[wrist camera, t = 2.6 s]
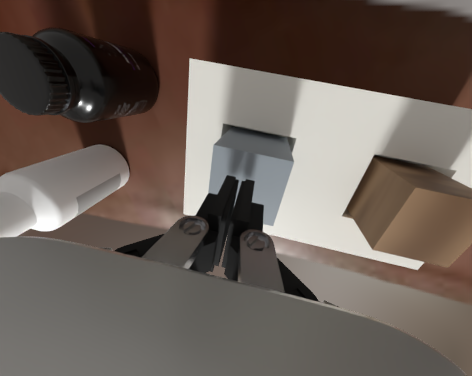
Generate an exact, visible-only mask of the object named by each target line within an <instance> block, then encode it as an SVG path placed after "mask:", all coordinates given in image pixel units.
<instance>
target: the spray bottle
mask: <svg viewBox="0 0 472 376" xmlns="http://www.w3.org/2000/svg"><path fill="white" fill-rule="evenodd" d="M129 175H130V173H129V167H128V164H127V162H126V160H125V159H124V158H123V156H122V155H121V154H120V153H119V152H118V151H116V150H115V149H113V148H111V147H109V146H106V145H101V144H99V145H93V146H90V147H87V148H84V149H81V150H78V151H74V152H71V153H68V154H65V155H62V156H59V157H56V158H52V159H49V160H46V161H43V162H40V163H37V164H34V165H31V166H27V167H24V168H21V169H18V170H15V171H12V172H9V173H6V174H4V175H2V176H1V177H0V237H16V236H18V235H20V234H21V233H23V232H25V231H27V230H28V229H30V228H31V229H35V230H39V231H52V230H55V229H57V228H59V227H61V226H62V225H64V224H65V223H67V222H68V221H70V220H71V219H73V218H75V217H76V216H77V215H79V214H81V213H82V212H84V211H85V210H87V209H88V208H90V207H91V206H93V205H94V204H96V203H97V202H99V201H101V200H102V199H104V198H105V197H107V196H108V195H110V194H111V193H113V192H114V191H116V190H117V189H119V188H120V187H122V186H123V185H125V184H126V182H127V181H128V179H129Z"/></svg>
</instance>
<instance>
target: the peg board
mask: <svg viewBox="0 0 472 376" xmlns="http://www.w3.org/2000/svg"><path fill="white" fill-rule="evenodd" d="M231 127H237V128H242V129H247V130H252V131H257V132H262V133H267V134H272V135H277V136H282V137H286V138H287V140H288V143H289V146H290V150H291V153H292V156H293V160H294V164H293V167H292V170H291V173H290V176H289V179H288V182H287V185H286V188H285V192H284V195H283V198H282V201H281V204H280V207H279V210H278V213H277V216H276V219H275V222H274V225H273V226H269V225H265V224H263V232H264V233H266V234H269V235H274V236H278V237H282V238H286V239H290V240H295V241H299V242H303V243H307V244H311V245H315V246H320V247H324V248H328V249H332V250H336V251H340V252H345V253H349V254H353V255H357V256H361V257H366V258H370V259H374V260H378V261H382V262H386V263H391V264H395V265H399V266H403V267H407V268H412V269H416V270H418V269H419V268H420V267H421V265H422V264H423V263H424V262H422V261H418V260H413V259H409V258H405V257H401V256H396V255H392V254H388V253H384V252H380V251H375V250H372V248H371V247H370V245H369V244H368V242H367V240H366V239H365V237H364V236H363V234H362V232H361V231H360V229H359V227H358V226H357V224H356V223H355V221H354V219H353V218H352V216H351V215H350V213H349V211H348V210H347V208H346V207H347V205H348V203H349V202H350V200H351V198H352V196H353V194H354V192H355V190H356V188H357V186H358V185H359V183H360V181H361V179H362V177H363V175H364V173H365V171H366V169H367V168H368V166H369V164H370V162H371V160H372V158H373V156H374V155H375V156H380V157H385V158H390V159H395V160H400V161H405V162H410V163H414V164H419V165H424V166H428V167H430V168H432V169H434V170H436V171H438V172H440V173H442V174H444V175H446V176H448V177H450V178H452V179H454V180H456V181H458V182H460V183H462V184H464V185H466V186H468V187H470V188H472V109H467V108H461V107H456V106H450V105H445V104H439V103H434V102H428V101H423V100H417V99H412V98H406V97H400V96H395V95H389V94H384V93H378V92H373V91H367V90H362V89H356V88H351V87H345V86H340V85H334V84H329V83H323V82H318V81H312V80H307V79H301V78H295V77H290V76H284V75H279V74H273V73H268V72H262V71H257V70H251V69H246V68H240V67H235V66H229V65H224V64H218V63H213V62H207V61H202V60H196V59H191V58H190V65H189V90H188V115H187V139H186V164H185V189H184V214H186V215H190V216H195V215H196V213H197V212H198V210H199V208H200V207H201V205H202V203H203V201H204V200H205V198H206V196H207V194H208V190H209V181H210V172H211V163H212V153H213V145H214V144H215V143H216V142H217V141H218V140H219V139H220V138H221V137H222V136H223V135H224V134H225V133H226V132H227V131H228V130H229V129H230V128H231Z"/></svg>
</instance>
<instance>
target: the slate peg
mask: <svg viewBox="0 0 472 376" xmlns="http://www.w3.org/2000/svg"><path fill="white" fill-rule="evenodd" d="M293 164H294V160H293V156H292V153H291V150H290V146H289V143H288V140H287V138H286V137H282V136H277V135H272V134H267V133H262V132H257V131H252V130H247V129H242V128H237V127H231V128H230V129H229V130H228V131H227V132H226V133H225V134H224V135H223V136H222V137H221V138H220V139H219V140H218V141H217V142H216V143H215V144H214V145H213V153H212V163H211V172H210V181H209V190H208V193H212V194H218V192H219V190H220V188H221V186H222V184H223V182H224V180H225V178H226V176H227V175H230V176H234V177H236V179H237V180H239V183H238V189H237V194H236V199H237V195H238V192H239V189H240V185H241V182H242V181H246V179H248V180H253V181H255V184H254V191H253V197H252V202H253V203H258V204H262V205H264V214H263V224H265V225H269V226H273V225H274V222H275V219H276V216H277V213H278V210H279V207H280V204H281V201H282V198H283V195H284V192H285V188H286V185H287V182H288V179H289V176H290V173H291V170H292V167H293ZM236 199H235V202H236ZM234 206H235V204H234Z"/></svg>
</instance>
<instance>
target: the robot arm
mask: <svg viewBox="0 0 472 376" xmlns="http://www.w3.org/2000/svg"><path fill="white" fill-rule="evenodd" d="M238 183H239V180H237V179H236V177H234V176H230V175H227V176H226V178H225V180H224V182H223V184H222V186H221V188H220V190H219V192H218V194H212V193H208V194H207V196H206V198H205V200H204V201H203V203H202V205H201V207H200V208H199V210H198V212H197V213H196V215H195V216H185V217H183V218H181V219H179V220H178V221H177V222H176V223H175V224H174V225H173V226H172V227H171V228H170V229H169V230H168V231H167V232H166V233H165V234H162V235H159V236H156V237H152V238H149V239H146V240H142V241H139V242H136V243H133V244H130V245H126V246H123V247H121V248H118V249H116V250H115V251H112V249H111V248H98V247H93V246H89V245H84V244H79V243H73V242H69V241H64V240H59V239H51V238H43V237H23V236H22V237H0V376H467V375H466V374H465V373H464V372H463V371H462V370H461V369H460V368H459V367H458V366H457V365H456V364H455V363H453V362H452V361H451V360H450V359H449V358H447V357H446V356H444V355H443V354H442V353H440V352H439V351H438V350H436V349H435V348H433V347H431V346H430V345H429V344H427V343H425V342H423V341H422V340H420V339H418V338H416V337H415V336H413V335H411V334H409V333H408V332H406V331H404V330H401V329H399V328H397V327H395V326H393V325H391V324H388V323H386V322H383V321H380V320H378V319H375V318H372V317H370V316H367V315H364V314H360V313H357V312H353V311H350V310H346V309H343V308H340V307H338V306H335V305H333V304H331V303H329V302H327V301H323V302H320V301H318V299H317V298H316V296H315V295H314V294H313V293H312V292H311V291H310V290H309V289H308V288H307V287H306V286H305V285H304V284H303V283H302V282H301V281H300V280H299V279H298V278H297V277H296V276H295V275H294V274H293V273H292V272H291V271H290V270H289V269H288V268H287V267H286V266H285V265H284V264H283V263H282V262H281V261H280V260H279V259H278V258H277V256H276V252H275V248H274V243H273V241H272V239H271V238H270V236H269V235H267V234H266V233H264V232H263V214H264V205H262V204H258V203H253V202H252V197H253V191H254V184H255V181H253V180H248V179H246V181H242V182H241V185H240V189H239V192H238V195H237V199H236V194H237V189H238ZM235 199H236V202H235ZM234 204H235V206H234ZM227 234H228V236H227ZM226 238H227V241H226ZM225 241H226V246H225V252H224V257H223V262H222V267H224V268H225V273H224V274H225V275H226V277H227V278H228V279H226V278H222V277H218V276H214V275H210V274H206V272H208V271H211V272H212V271H213V268H214V265H216V266H219V262H220V259H221V255H222V252H223V248H224V245H225Z"/></svg>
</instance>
